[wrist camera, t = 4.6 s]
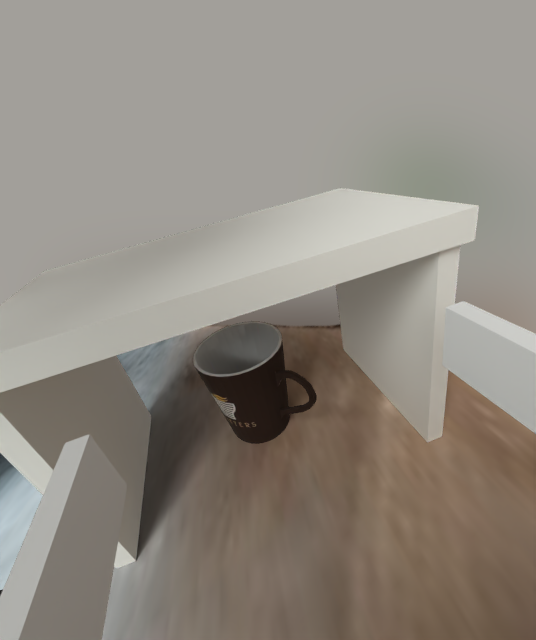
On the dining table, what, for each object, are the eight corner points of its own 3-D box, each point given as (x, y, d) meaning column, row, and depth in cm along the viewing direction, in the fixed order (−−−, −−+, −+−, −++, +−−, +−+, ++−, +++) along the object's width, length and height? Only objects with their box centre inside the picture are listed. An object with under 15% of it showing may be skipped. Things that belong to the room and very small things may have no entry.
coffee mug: (213, 413, 36) (184, 344, 31) (277, 380, 39) (259, 312, 34) (251, 495, 26) (217, 415, 22) (333, 445, 29) (319, 363, 24)
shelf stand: (451, 438, 27) (478, 205, 17) (109, 578, 23) (-101, 382, 14) (355, 343, 42) (340, 188, 32) (135, 419, 38) (44, 270, 28)
